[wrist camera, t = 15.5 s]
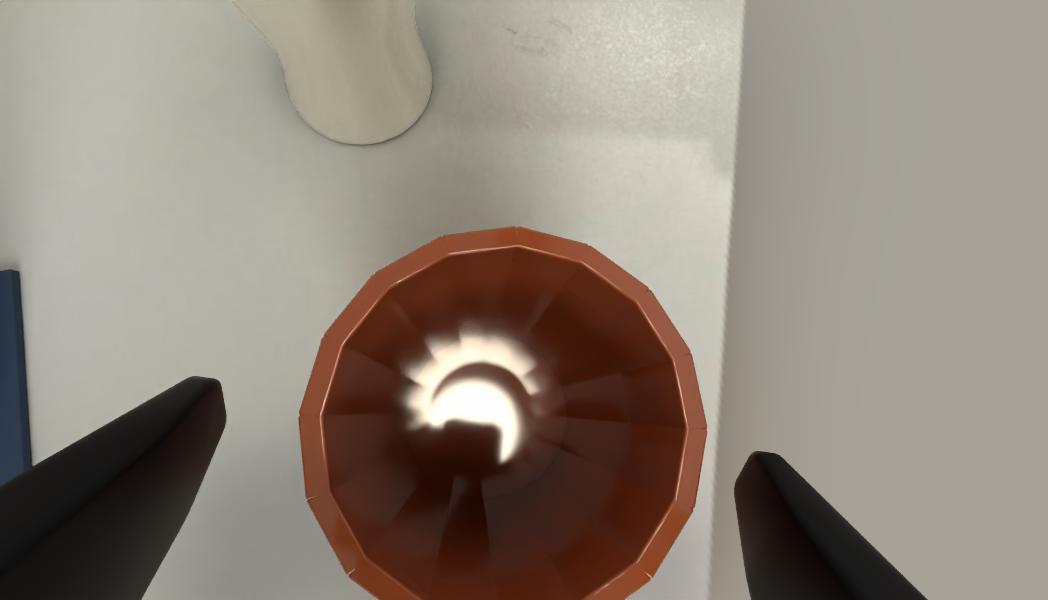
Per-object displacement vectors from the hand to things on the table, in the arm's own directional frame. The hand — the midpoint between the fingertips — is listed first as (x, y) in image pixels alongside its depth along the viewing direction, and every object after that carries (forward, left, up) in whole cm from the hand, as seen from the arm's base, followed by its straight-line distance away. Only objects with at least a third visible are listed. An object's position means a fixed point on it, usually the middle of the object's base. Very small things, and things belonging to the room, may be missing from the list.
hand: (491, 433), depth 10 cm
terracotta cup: (0, 0, -13) cm, 13 cm away
